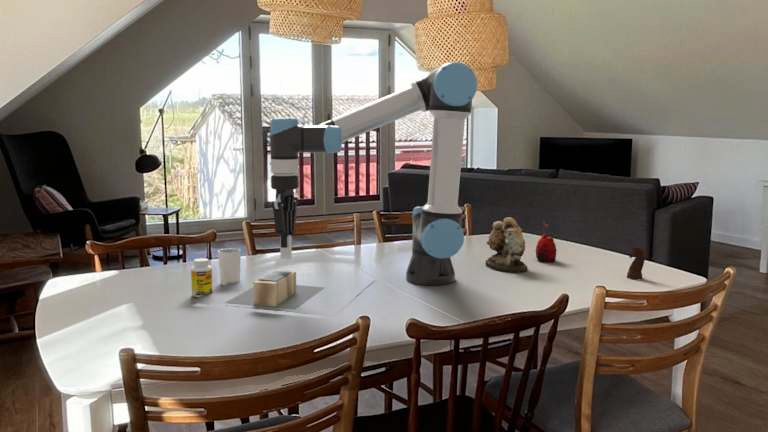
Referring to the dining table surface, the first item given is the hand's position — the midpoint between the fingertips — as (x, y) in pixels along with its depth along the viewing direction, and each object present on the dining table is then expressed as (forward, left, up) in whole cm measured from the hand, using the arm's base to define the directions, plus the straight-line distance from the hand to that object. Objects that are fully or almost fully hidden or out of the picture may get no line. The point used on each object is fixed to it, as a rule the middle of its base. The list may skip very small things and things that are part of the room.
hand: (286, 258), depth 178 cm
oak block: (0, 0, -7) cm, 7 cm away
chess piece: (-98, -49, -11) cm, 110 cm away
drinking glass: (+21, -6, -11) cm, 24 cm away
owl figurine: (-57, -52, -11) cm, 78 cm away
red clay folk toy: (-70, -66, -11) cm, 97 cm away
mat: (+1, +4, -10) cm, 11 cm away
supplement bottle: (+22, +8, -11) cm, 26 cm away
